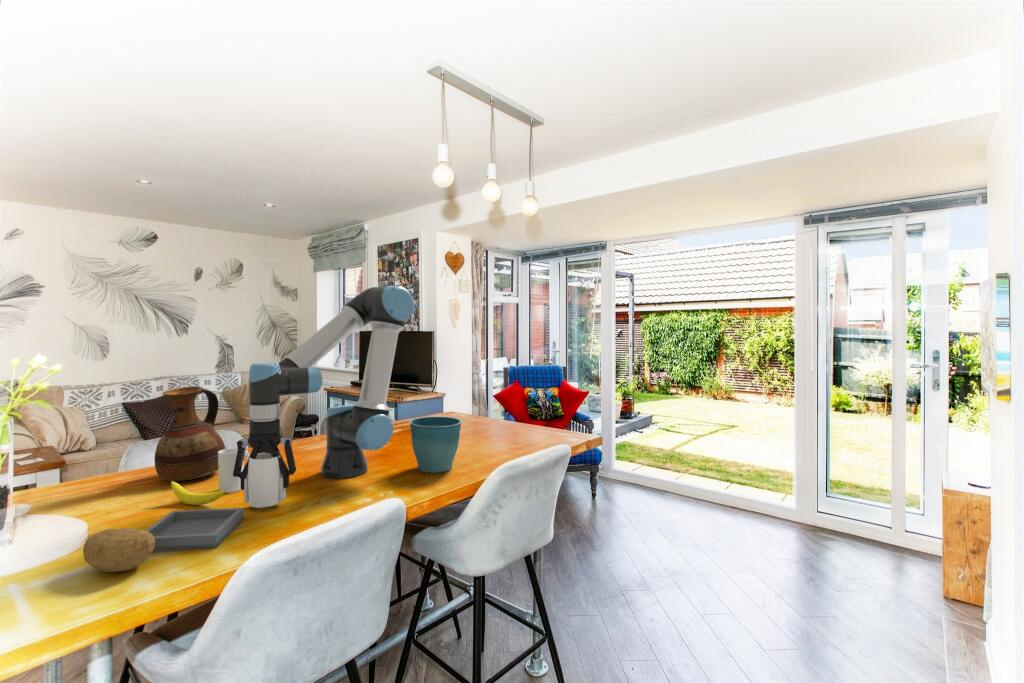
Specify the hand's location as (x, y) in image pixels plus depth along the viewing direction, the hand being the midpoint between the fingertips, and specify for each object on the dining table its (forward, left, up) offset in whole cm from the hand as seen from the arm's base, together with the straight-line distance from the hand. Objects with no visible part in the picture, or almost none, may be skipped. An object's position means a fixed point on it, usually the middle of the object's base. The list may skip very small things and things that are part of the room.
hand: (265, 500), depth 137 cm
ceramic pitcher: (+33, -33, -2) cm, 47 cm away
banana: (+19, -4, -2) cm, 20 cm away
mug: (+14, -18, -2) cm, 23 cm away
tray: (+11, +17, -2) cm, 20 cm away
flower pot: (-47, -31, -2) cm, 56 cm away
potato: (+18, +33, -2) cm, 38 cm away
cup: (0, 0, -2) cm, 2 cm away
